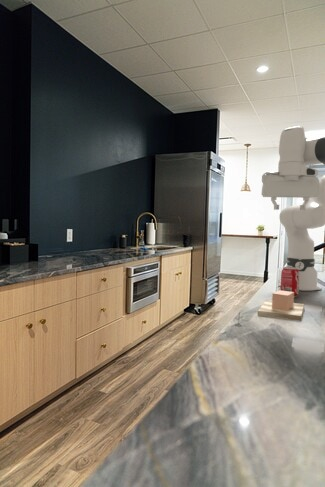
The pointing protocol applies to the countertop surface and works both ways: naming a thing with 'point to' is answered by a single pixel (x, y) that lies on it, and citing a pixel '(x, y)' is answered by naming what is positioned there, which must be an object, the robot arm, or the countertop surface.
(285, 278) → the soda can
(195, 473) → the countertop surface
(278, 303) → the block
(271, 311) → the pin plate
